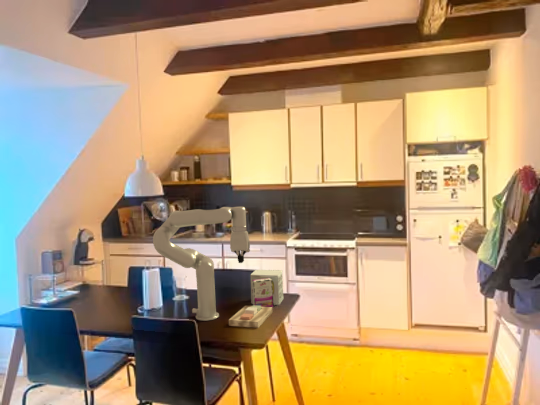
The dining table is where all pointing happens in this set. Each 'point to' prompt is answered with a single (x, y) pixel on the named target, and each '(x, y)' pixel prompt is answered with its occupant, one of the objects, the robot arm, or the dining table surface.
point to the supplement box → (276, 283)
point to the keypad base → (254, 322)
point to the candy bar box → (262, 292)
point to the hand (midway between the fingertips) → (241, 262)
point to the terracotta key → (246, 316)
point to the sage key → (257, 307)
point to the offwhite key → (251, 310)
